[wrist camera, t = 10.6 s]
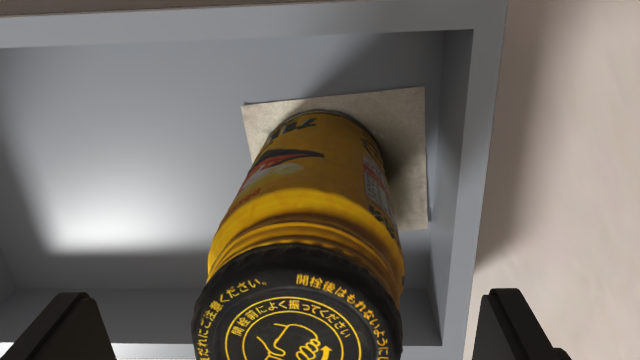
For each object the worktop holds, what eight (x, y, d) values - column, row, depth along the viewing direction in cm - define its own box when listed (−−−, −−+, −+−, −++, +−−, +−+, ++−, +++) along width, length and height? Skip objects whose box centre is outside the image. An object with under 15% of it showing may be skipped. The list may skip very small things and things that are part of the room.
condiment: (241, 105, 20) (113, 243, 9) (423, 85, 19) (531, 211, 8) (267, 237, 23) (195, 465, 12) (427, 225, 22) (509, 457, 11)
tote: (-97, 20, 20) (-228, 28, 15) (467, -6, 18) (509, -6, 14) (17, 293, 26) (-52, 356, 22) (440, 293, 25) (462, 362, 20)
